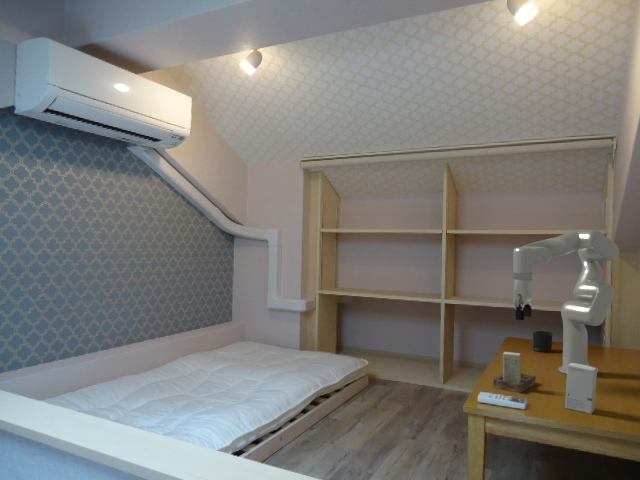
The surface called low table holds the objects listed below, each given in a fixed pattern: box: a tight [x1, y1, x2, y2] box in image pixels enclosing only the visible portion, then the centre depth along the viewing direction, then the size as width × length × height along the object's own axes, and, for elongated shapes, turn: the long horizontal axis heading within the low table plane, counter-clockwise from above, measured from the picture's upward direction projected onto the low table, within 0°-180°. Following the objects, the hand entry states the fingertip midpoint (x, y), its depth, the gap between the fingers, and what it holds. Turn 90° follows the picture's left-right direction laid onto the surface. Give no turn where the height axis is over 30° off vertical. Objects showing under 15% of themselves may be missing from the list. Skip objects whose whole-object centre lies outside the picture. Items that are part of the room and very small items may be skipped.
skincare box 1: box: [502, 351, 522, 384], centre depth 183 cm, size 6×4×12 cm
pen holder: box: [532, 330, 553, 354], centre depth 251 cm, size 9×9×10 cm
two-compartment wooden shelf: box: [493, 372, 536, 394], centre depth 186 cm, size 10×18×3 cm, turn 138°
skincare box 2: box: [564, 363, 598, 415], centre depth 160 cm, size 8×6×15 cm
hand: (523, 318), depth 195 cm, fingers open, 9 cm apart
